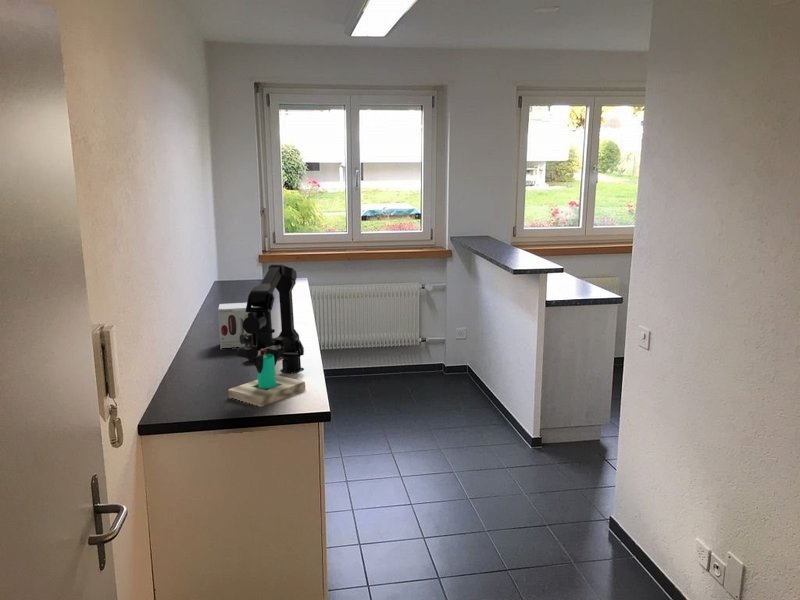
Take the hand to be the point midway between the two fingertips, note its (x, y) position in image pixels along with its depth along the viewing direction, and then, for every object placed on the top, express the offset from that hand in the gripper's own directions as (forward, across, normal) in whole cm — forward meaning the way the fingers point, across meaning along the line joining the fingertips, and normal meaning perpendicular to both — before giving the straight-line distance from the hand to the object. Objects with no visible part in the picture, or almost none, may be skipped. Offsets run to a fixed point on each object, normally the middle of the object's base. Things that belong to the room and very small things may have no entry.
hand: (266, 371), depth 220 cm
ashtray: (+8, -32, -36) cm, 49 cm away
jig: (+8, 0, 0) cm, 8 cm away
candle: (+5, 0, 0) cm, 5 cm away
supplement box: (+8, -40, -62) cm, 74 cm away
